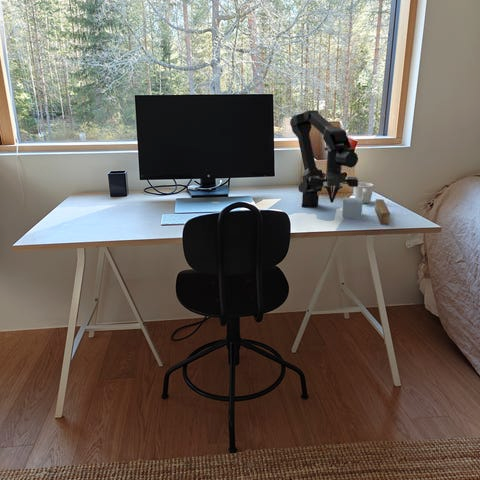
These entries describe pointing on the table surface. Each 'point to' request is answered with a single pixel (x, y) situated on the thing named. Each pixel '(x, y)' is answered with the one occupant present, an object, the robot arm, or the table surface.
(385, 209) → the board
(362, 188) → the cup
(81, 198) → the table surface
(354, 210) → the block
